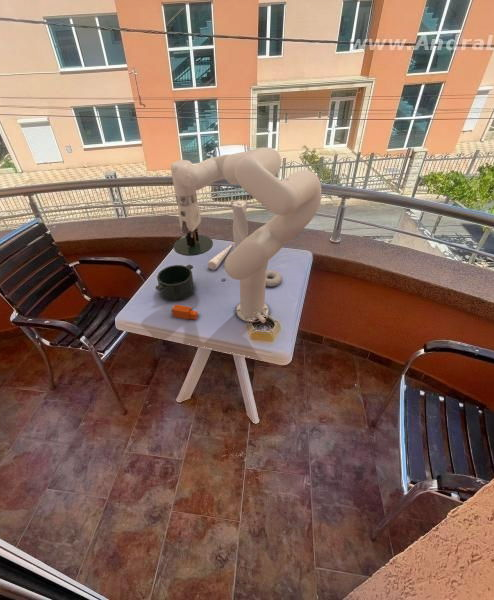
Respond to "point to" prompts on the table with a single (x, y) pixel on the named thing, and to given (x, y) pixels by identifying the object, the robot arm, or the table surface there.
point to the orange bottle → (184, 312)
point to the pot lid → (199, 248)
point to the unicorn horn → (218, 259)
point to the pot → (176, 282)
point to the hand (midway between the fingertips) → (193, 242)
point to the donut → (275, 276)
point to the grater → (239, 221)
